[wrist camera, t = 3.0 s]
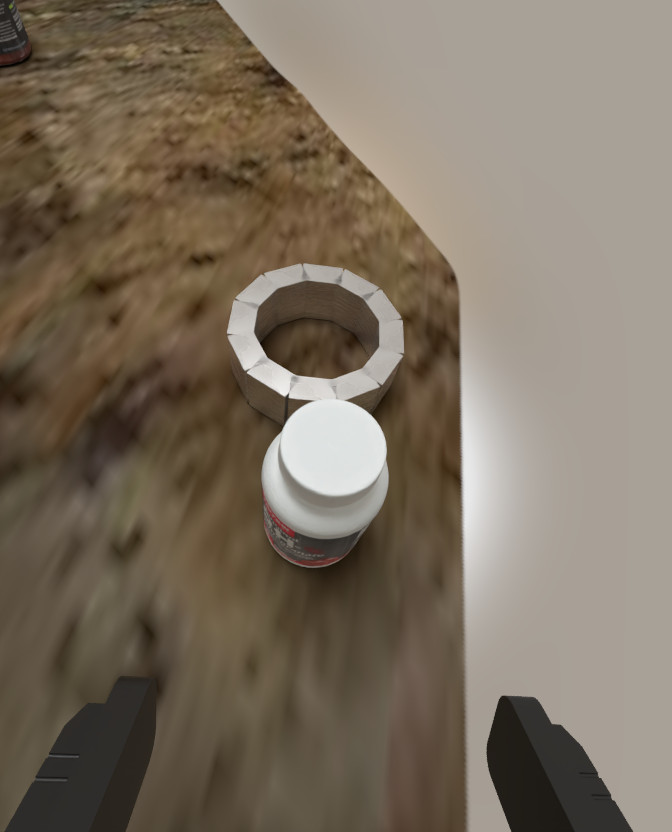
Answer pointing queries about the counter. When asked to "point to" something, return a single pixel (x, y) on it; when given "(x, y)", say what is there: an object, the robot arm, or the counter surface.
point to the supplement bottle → (12, 35)
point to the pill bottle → (323, 482)
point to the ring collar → (320, 299)
